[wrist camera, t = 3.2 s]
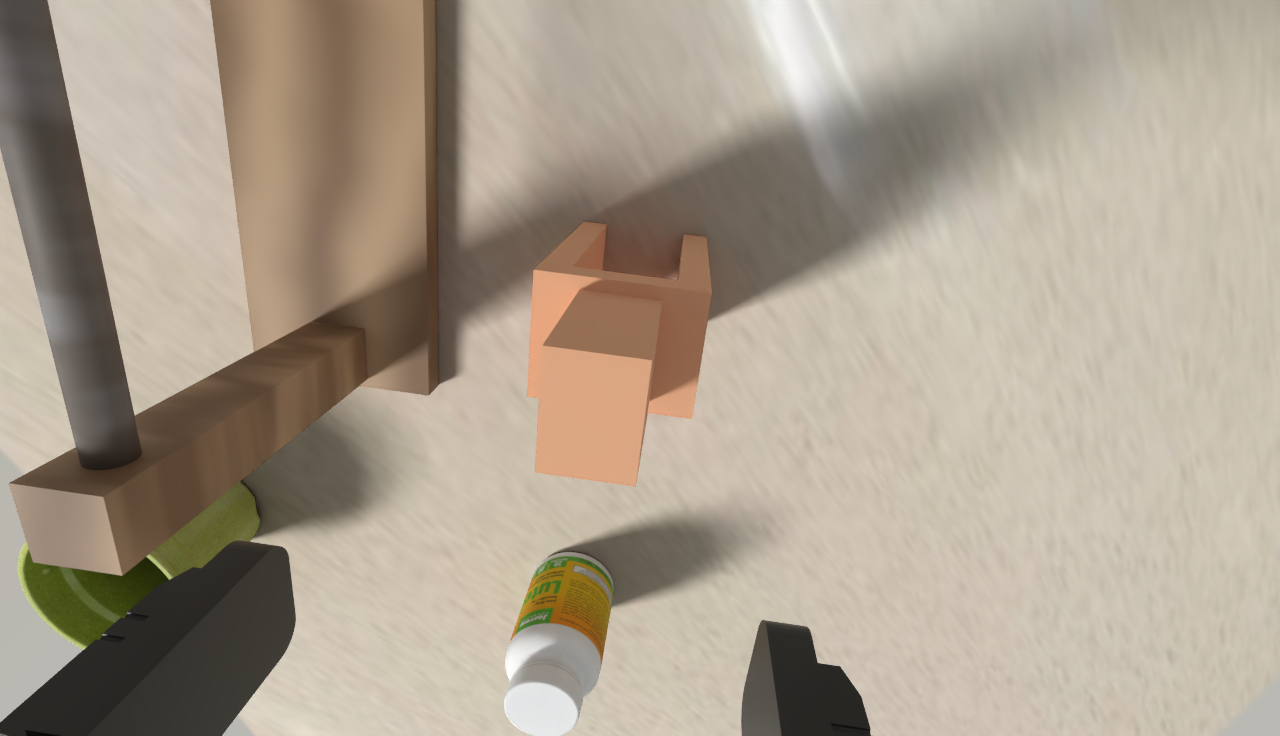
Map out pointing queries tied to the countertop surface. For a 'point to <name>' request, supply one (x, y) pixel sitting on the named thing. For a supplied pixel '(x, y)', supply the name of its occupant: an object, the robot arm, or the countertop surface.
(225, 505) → the plant pot
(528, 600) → the supplement bottle
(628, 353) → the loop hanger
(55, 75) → the hook stand
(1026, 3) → the countertop surface
